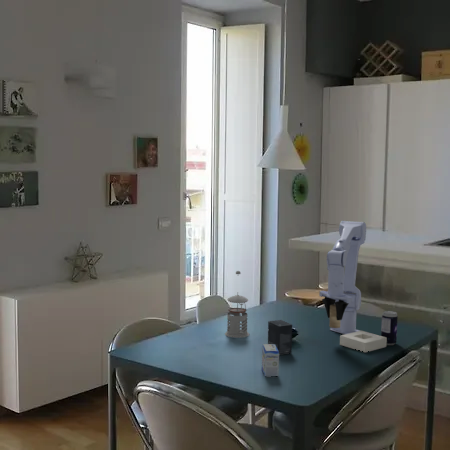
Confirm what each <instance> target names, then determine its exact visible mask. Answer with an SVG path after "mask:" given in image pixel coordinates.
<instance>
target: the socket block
mask: <svg viewBox="0 0 450 450" xmlns="http://www.w3.org/2000/svg"><path fill="white" fill-rule="evenodd" d="M386 343H387V338H386V337H383V336H381V335H378V334H374V333H371V332H368V331H366V330H365V331H364V330H360V331H358V332H353V333H349V334H342V335H341V334H340V336H339V346H342V347H343V346H344V347H346V348H349V349H353V350H355V349H356V351H358V350H360V351H359V352H362V351H363V352H362V353H368V351H369V352H373V351H377V350H379V349H380V350H381V349H383V348H387V345H386Z"/></svg>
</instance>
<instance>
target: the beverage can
mask: <svg viewBox="0 0 450 450" xmlns="http://www.w3.org/2000/svg"><path fill="white" fill-rule="evenodd" d="M398 318H399V317H398V312H396V311H393V310H384V311H383V312H382V315H381V327H380V328H381V329H380V330H381V331H380V332H381V334H380V336H383V337H386V338H387V343H386V346H394V345H395V344H396V343H397V337H398Z"/></svg>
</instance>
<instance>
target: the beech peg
mask: <svg viewBox="0 0 450 450" xmlns="http://www.w3.org/2000/svg"><path fill="white" fill-rule="evenodd" d="M328 326H329V328H330V329H331V328H340V320H337V317H336V306H335V304H332V305H330V318H329V324H328Z"/></svg>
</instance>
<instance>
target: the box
mask: <svg viewBox="0 0 450 450" xmlns="http://www.w3.org/2000/svg"><path fill="white" fill-rule="evenodd" d="M267 323H268V324H267V326H268V327H267V344H275V345H276V347H277V349H278V351H279V356H280V355H288V354H289V353H290V354H292V351H293V350H292V347H293V344H292V343H293V342H292V341H293V324H292V323H289V322H287V321H284V320H282V319H277V320H268V322H267Z"/></svg>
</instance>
